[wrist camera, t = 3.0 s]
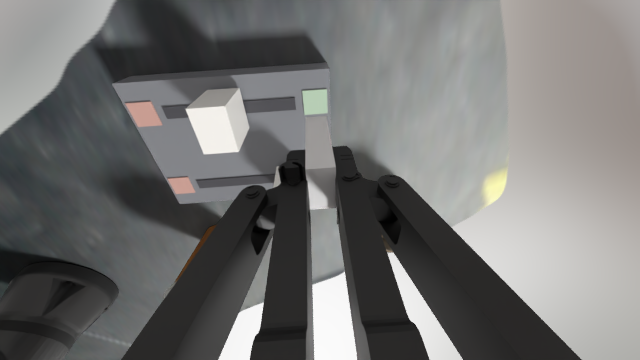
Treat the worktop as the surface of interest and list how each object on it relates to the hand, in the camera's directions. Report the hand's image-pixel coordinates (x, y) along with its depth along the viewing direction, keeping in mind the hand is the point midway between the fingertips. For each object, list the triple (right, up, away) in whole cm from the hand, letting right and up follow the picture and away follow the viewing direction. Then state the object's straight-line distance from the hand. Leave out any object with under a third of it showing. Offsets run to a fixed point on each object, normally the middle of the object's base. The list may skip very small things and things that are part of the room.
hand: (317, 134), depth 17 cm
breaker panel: (-9, +2, +11) cm, 14 cm away
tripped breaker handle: (-9, +4, +6) cm, 11 cm away
